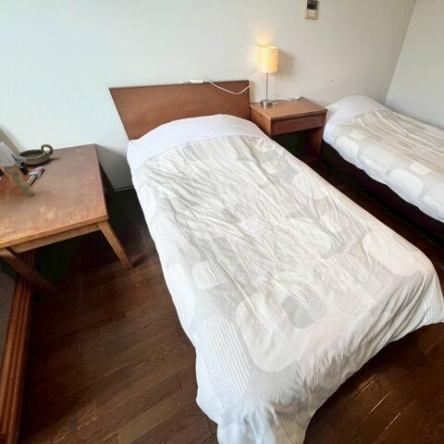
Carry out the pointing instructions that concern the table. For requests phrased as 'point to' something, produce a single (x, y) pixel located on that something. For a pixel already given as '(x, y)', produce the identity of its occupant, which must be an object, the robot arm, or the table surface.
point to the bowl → (36, 155)
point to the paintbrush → (34, 174)
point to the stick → (19, 181)
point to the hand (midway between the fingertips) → (14, 174)
